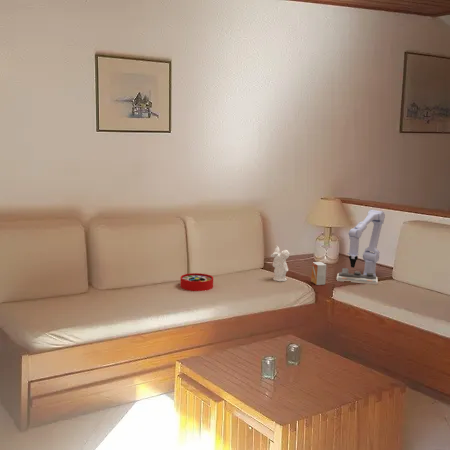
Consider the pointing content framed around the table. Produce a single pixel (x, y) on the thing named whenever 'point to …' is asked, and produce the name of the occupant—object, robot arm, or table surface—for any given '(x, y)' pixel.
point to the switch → (345, 271)
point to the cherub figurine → (280, 264)
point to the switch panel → (357, 278)
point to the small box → (318, 273)
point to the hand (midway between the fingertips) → (352, 267)
